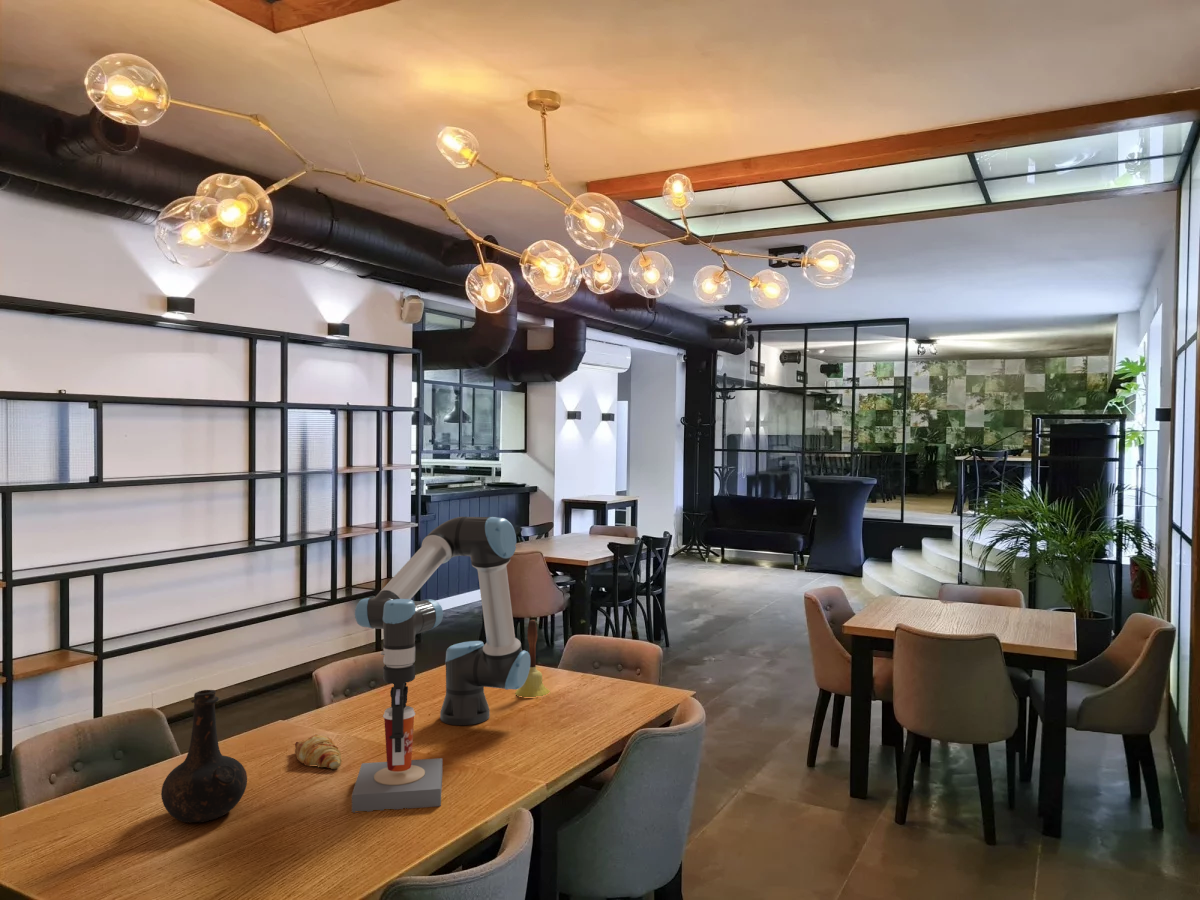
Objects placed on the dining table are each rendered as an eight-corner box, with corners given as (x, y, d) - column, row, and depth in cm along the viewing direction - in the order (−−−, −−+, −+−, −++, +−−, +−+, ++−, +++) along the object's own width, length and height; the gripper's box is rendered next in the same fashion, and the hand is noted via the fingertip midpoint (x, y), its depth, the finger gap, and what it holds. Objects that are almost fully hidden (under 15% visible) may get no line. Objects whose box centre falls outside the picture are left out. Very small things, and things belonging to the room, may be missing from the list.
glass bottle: (191, 839, 178) (190, 708, 179) (144, 820, 188) (144, 695, 188) (263, 809, 194) (263, 688, 194) (217, 792, 203) (216, 677, 203)
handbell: (514, 689, 292) (514, 617, 292) (549, 687, 293) (549, 616, 293) (514, 699, 279) (514, 624, 279) (551, 698, 281) (551, 623, 281)
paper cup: (407, 774, 198) (407, 715, 198) (377, 772, 200) (377, 713, 200) (420, 762, 206) (420, 705, 206) (391, 760, 207) (391, 703, 207)
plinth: (361, 779, 211) (361, 761, 211) (442, 773, 214) (442, 756, 214) (351, 812, 191) (351, 793, 191) (440, 806, 195) (440, 787, 195)
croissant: (348, 781, 219) (361, 750, 222) (317, 773, 212) (331, 741, 215) (305, 760, 233) (318, 731, 235) (275, 752, 226) (288, 723, 229)
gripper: (386, 655, 212) (387, 746, 212) (379, 675, 193) (379, 775, 192) (417, 654, 213) (417, 744, 213) (412, 673, 194) (413, 773, 194)
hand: (399, 758), depth 203 cm, fingers closed on paper cup, 7 cm apart
